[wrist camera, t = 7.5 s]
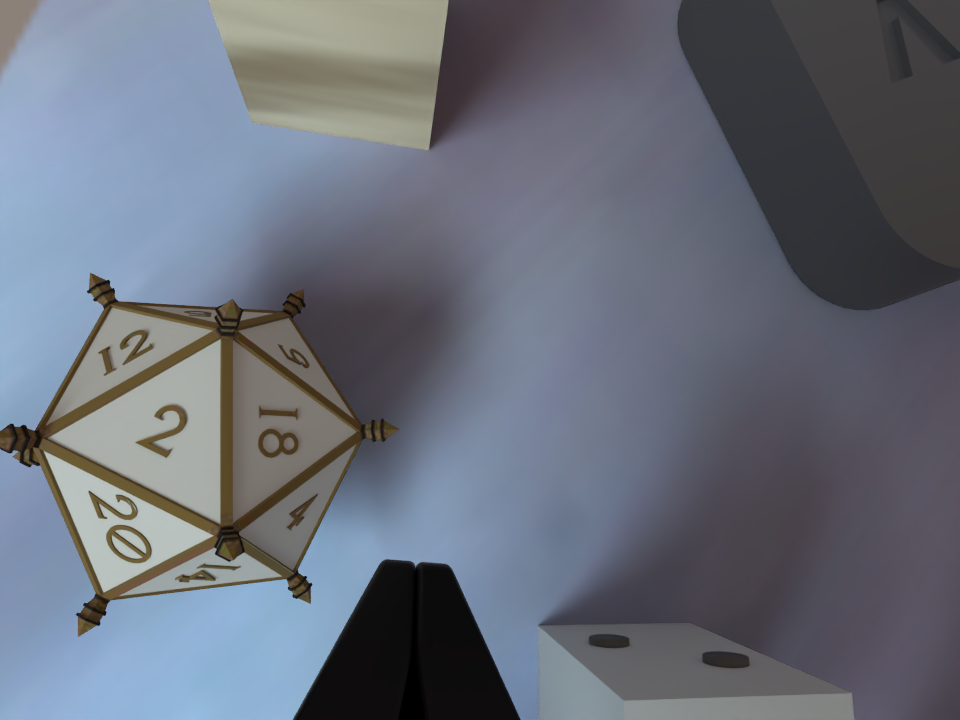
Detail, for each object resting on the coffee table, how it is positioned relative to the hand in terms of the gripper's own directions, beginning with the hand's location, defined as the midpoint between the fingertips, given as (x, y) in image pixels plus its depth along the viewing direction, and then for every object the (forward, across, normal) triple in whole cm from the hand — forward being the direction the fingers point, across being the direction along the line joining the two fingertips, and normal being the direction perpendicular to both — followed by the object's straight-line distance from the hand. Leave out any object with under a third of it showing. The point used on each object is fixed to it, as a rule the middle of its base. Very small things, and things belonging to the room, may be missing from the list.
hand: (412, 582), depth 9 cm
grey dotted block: (+6, -8, +13) cm, 16 cm away
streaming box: (+22, -17, -3) cm, 28 cm away
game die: (+11, +5, +8) cm, 15 cm away
